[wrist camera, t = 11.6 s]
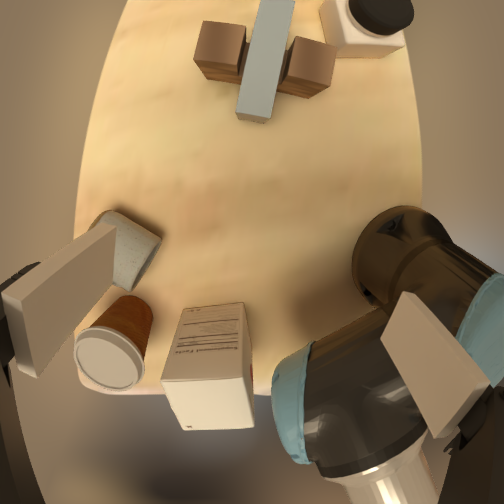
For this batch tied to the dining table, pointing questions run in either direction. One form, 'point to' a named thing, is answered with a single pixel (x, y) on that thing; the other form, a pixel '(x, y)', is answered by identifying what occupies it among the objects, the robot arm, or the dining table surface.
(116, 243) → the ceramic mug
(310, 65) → the walnut stand
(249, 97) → the slate plate
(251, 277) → the dining table surface
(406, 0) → the medicine bottle
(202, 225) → the dining table surface
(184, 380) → the supplement box
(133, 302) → the disposable coffee cup
